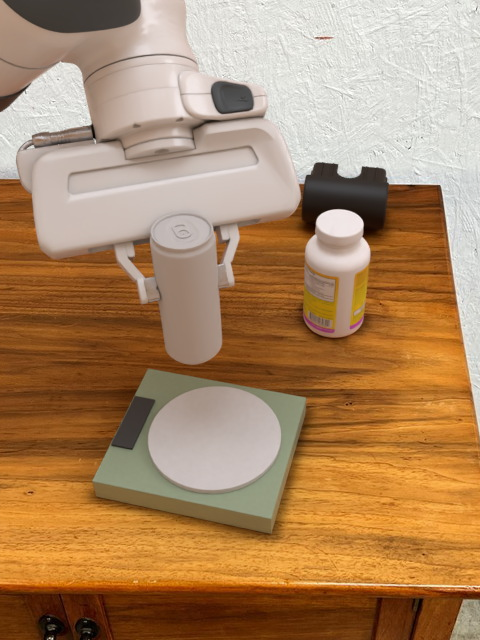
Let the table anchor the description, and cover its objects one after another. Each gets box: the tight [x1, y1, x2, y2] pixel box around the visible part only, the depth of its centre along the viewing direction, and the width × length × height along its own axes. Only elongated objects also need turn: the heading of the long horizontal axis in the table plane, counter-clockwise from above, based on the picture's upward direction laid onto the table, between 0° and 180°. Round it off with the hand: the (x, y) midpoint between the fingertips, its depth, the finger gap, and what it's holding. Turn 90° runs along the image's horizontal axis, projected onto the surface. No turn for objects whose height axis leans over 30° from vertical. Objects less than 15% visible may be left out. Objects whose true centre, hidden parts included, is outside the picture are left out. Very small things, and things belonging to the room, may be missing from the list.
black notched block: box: [301, 161, 390, 231], centre depth 95 cm, size 10×7×7 cm
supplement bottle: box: [302, 209, 371, 339], centre depth 80 cm, size 7×7×13 cm
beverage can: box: [149, 212, 223, 366], centre depth 61 cm, size 5×5×12 cm
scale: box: [91, 368, 307, 535], centre depth 71 cm, size 16×14×3 cm
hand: (188, 295), depth 60 cm, fingers closed on beverage can, 4 cm apart
